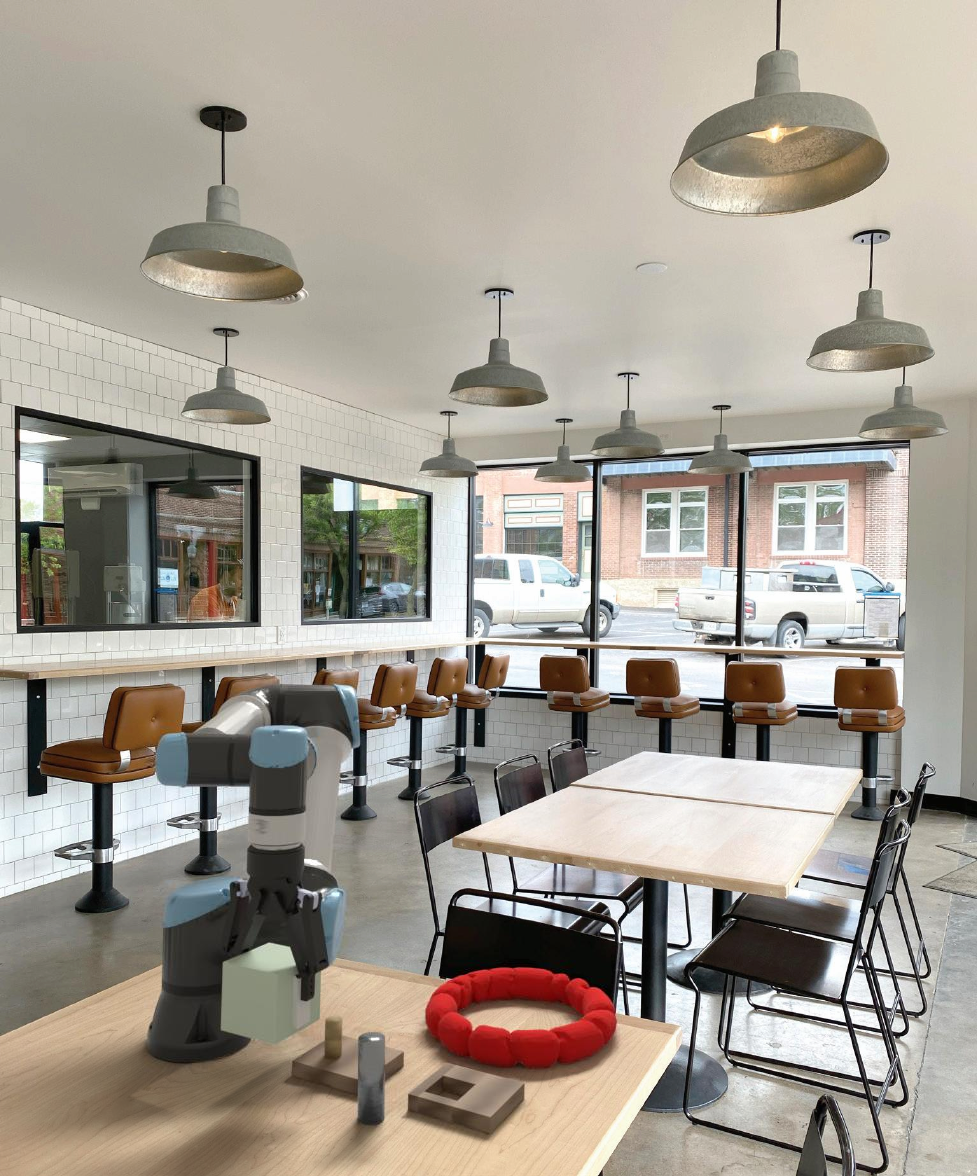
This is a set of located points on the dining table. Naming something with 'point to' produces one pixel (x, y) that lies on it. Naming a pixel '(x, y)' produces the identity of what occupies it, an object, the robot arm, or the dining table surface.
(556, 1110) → the dining table surface
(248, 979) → the pale green cube
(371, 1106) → the peg
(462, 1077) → the square hole block
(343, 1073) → the board
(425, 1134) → the dining table surface
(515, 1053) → the decorative ring
